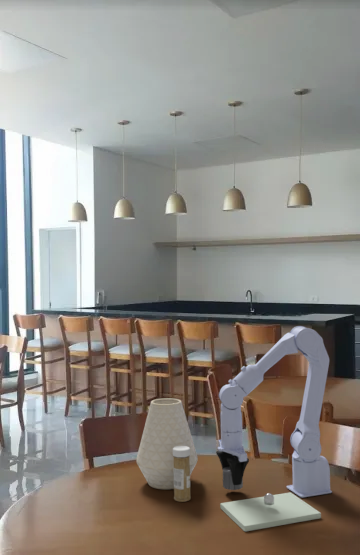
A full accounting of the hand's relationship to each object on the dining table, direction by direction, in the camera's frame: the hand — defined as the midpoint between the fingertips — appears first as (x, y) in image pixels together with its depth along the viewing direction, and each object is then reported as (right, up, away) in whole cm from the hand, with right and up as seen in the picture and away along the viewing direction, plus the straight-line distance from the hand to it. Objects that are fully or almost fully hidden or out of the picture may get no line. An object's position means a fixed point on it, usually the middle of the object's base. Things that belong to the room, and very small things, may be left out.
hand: (232, 480), depth 145 cm
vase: (-18, -4, +9) cm, 20 cm away
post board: (+8, -3, -13) cm, 16 cm away
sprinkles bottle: (-14, -4, -4) cm, 15 cm away
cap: (0, -1, 0) cm, 1 cm away
